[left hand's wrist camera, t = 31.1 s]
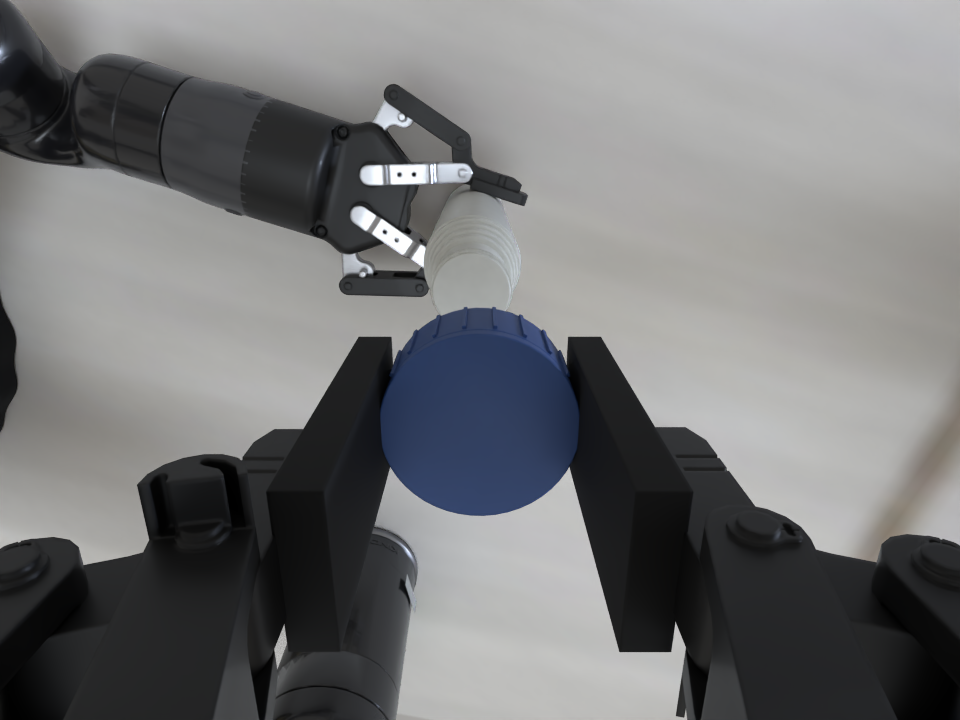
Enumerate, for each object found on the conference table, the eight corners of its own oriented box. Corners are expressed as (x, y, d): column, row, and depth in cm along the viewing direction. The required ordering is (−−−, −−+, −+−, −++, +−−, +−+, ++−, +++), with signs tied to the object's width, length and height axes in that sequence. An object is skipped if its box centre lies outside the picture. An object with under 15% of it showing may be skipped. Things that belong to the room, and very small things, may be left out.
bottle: (511, 193, 46) (547, 253, 23) (493, 250, 47) (509, 362, 24) (453, 174, 45) (429, 216, 22) (437, 233, 47) (398, 329, 24)
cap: (375, 452, 15) (360, 497, 13) (407, 285, 14) (395, 309, 12) (543, 485, 15) (552, 534, 13) (592, 327, 14) (609, 356, 12)
